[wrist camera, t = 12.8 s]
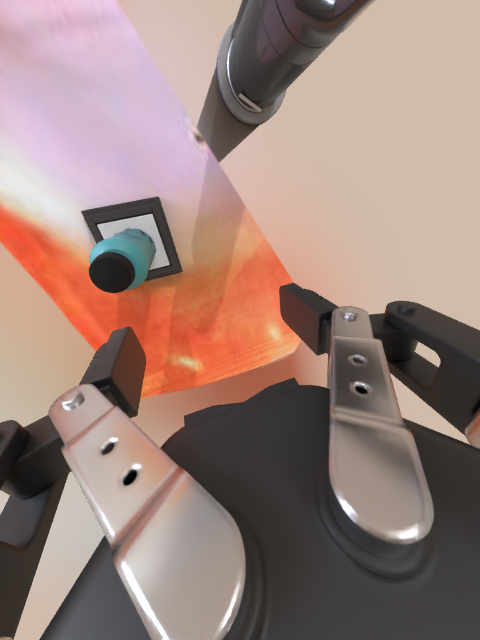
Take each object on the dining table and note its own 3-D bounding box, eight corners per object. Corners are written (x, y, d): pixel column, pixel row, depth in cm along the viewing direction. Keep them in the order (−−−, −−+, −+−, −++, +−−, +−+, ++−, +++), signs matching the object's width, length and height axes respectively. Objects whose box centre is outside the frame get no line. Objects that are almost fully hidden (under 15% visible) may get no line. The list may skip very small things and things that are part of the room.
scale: (83, 211, 36) (77, 211, 34) (158, 196, 38) (158, 196, 36) (120, 285, 43) (117, 290, 41) (182, 270, 45) (183, 273, 43)
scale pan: (99, 224, 36) (96, 224, 35) (152, 213, 38) (152, 213, 36) (123, 274, 41) (121, 276, 40) (170, 263, 42) (169, 265, 41)
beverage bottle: (161, 260, 40) (154, 299, 23) (124, 266, 39) (89, 311, 22) (151, 224, 37) (134, 238, 20) (111, 228, 36) (57, 248, 19)
